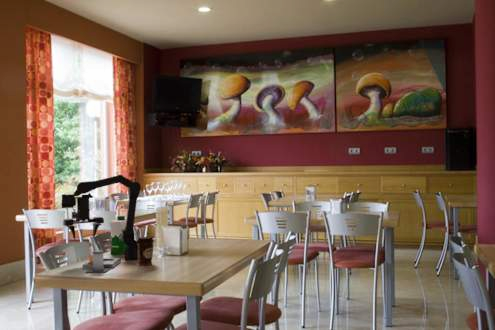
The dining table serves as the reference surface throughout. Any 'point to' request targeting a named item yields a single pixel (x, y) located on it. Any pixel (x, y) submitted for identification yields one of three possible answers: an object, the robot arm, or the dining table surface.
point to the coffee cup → (145, 250)
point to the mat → (98, 271)
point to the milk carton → (117, 235)
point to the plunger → (90, 259)
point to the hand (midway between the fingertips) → (84, 238)
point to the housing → (104, 263)
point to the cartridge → (98, 260)
